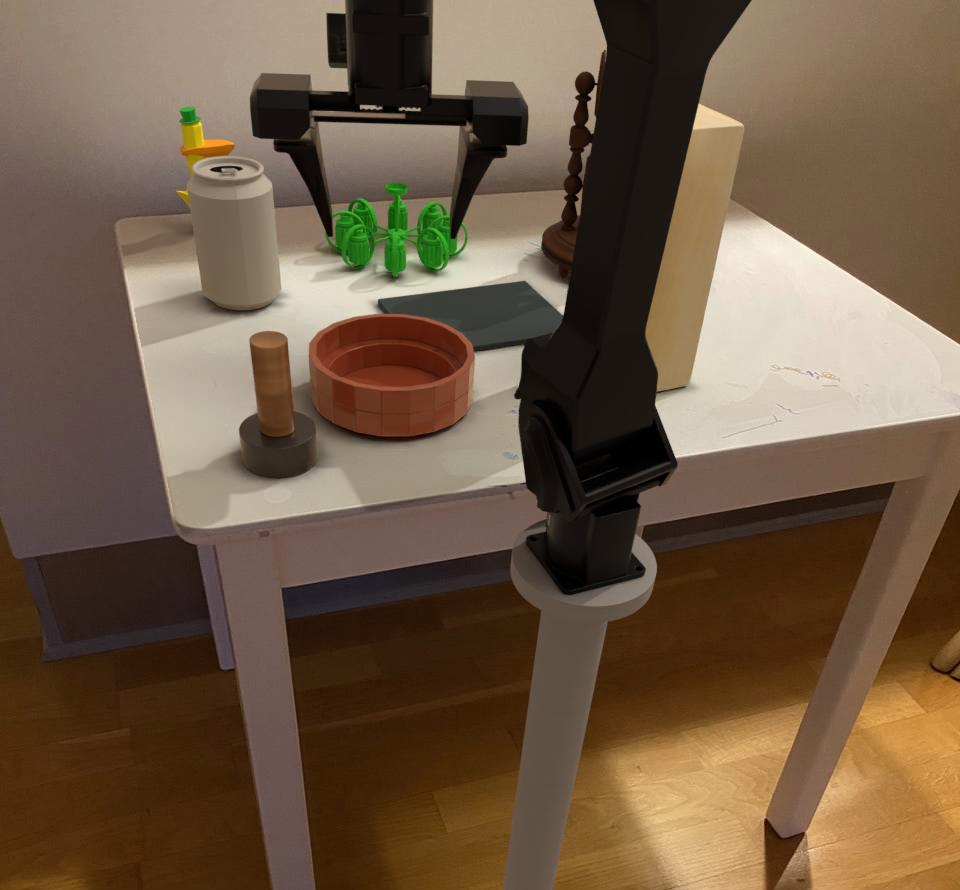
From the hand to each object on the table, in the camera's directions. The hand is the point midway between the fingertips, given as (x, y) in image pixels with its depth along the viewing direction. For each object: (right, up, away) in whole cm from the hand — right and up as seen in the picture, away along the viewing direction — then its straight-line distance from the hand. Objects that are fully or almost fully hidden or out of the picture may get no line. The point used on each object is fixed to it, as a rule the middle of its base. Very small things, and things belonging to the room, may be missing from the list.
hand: (391, 236), depth 71 cm
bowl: (-1, -11, +7) cm, 13 cm away
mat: (+6, 0, +19) cm, 20 cm away
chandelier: (-2, +11, +30) cm, 32 cm away
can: (-16, +3, +20) cm, 26 cm away
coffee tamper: (-8, -17, 0) cm, 19 cm away
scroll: (+21, +10, +31) cm, 38 cm away
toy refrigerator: (+20, -7, +13) cm, 25 cm away
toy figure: (-23, +14, +32) cm, 42 cm away
